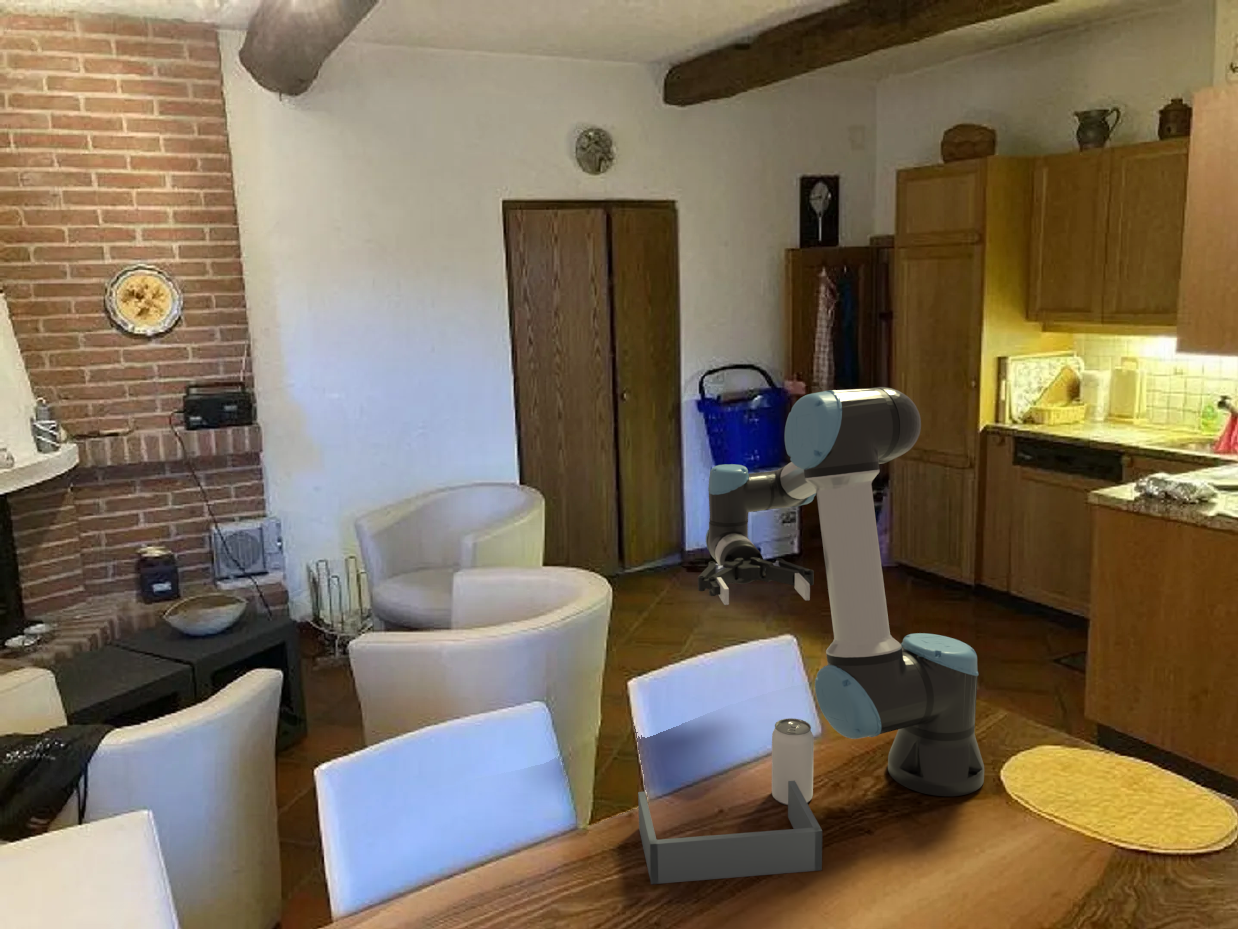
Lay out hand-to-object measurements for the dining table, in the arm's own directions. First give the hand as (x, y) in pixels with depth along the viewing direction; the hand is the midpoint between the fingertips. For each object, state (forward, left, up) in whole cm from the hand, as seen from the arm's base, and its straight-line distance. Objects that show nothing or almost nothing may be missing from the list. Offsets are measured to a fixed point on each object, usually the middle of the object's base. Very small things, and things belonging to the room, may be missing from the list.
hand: (767, 594), depth 162 cm
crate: (+8, +26, -30) cm, 40 cm away
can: (-3, +11, -30) cm, 32 cm away
